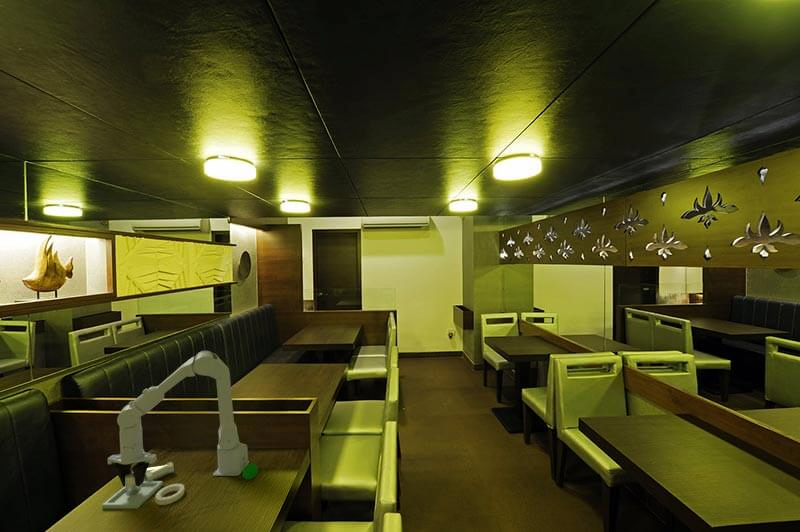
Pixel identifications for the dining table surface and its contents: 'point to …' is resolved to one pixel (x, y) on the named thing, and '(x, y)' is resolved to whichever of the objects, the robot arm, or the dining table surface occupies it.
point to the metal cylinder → (131, 484)
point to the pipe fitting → (158, 471)
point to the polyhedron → (250, 471)
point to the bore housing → (170, 499)
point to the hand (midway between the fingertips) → (133, 484)
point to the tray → (135, 500)
